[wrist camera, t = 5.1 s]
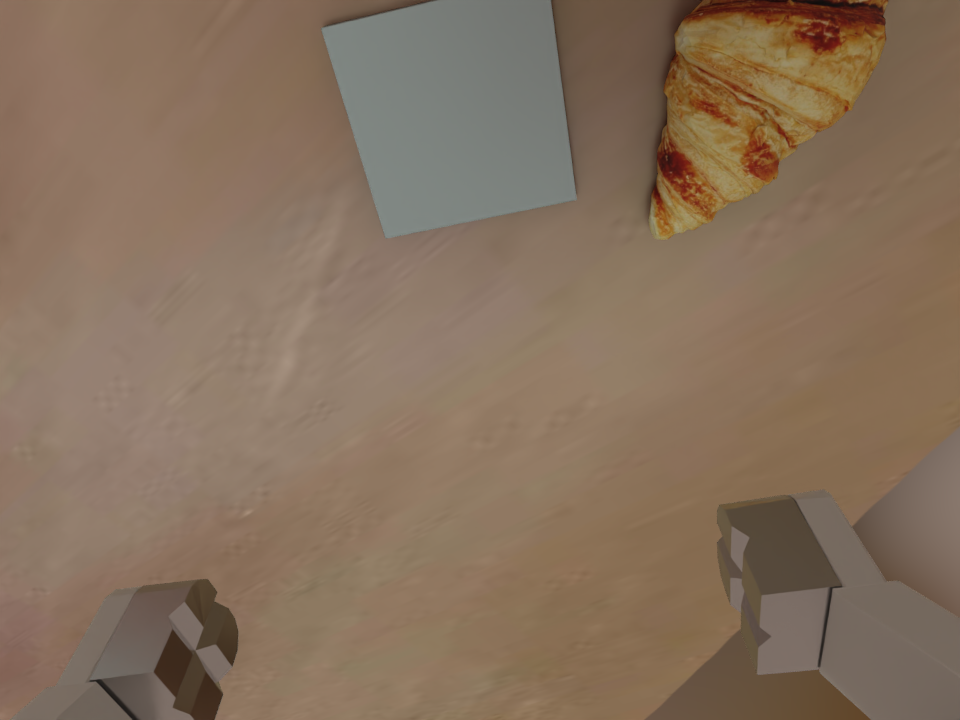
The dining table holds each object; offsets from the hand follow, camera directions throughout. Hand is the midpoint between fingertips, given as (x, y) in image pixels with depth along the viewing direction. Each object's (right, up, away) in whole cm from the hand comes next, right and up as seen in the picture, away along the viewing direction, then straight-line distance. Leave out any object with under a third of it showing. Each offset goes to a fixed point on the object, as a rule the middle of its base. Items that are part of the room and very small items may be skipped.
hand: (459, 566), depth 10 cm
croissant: (+15, +20, +26) cm, 36 cm away
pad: (-1, +17, +27) cm, 32 cm away
